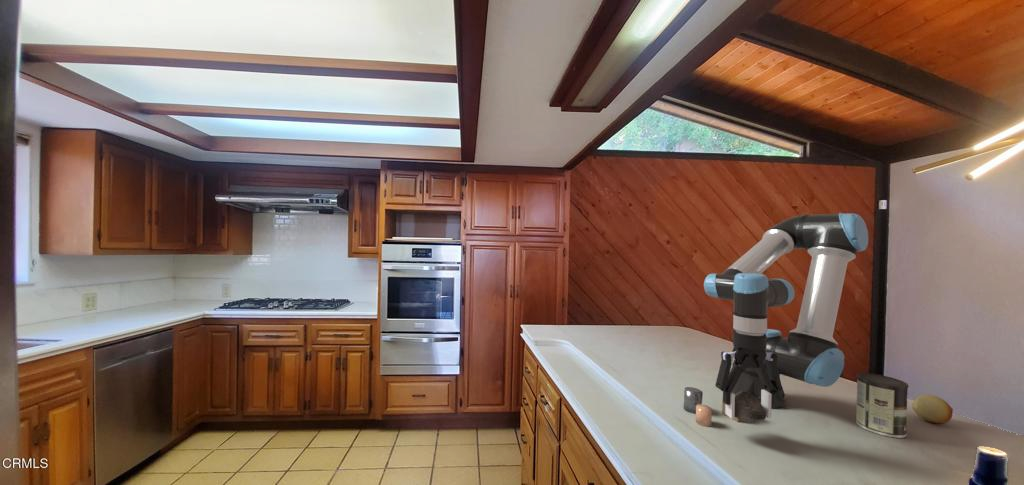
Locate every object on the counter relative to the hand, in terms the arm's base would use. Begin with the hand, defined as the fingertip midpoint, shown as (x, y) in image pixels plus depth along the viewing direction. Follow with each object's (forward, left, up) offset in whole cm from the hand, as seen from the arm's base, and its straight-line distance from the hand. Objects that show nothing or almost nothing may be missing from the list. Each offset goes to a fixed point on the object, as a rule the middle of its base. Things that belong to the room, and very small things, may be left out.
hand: (747, 416), depth 96 cm
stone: (0, 0, -1) cm, 1 cm away
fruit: (-63, -10, -6) cm, 64 cm away
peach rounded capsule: (+7, -8, -6) cm, 12 cm away
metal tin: (+6, -16, -6) cm, 18 cm away
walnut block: (-5, -12, -6) cm, 14 cm away
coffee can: (-43, -6, -6) cm, 43 cm away
